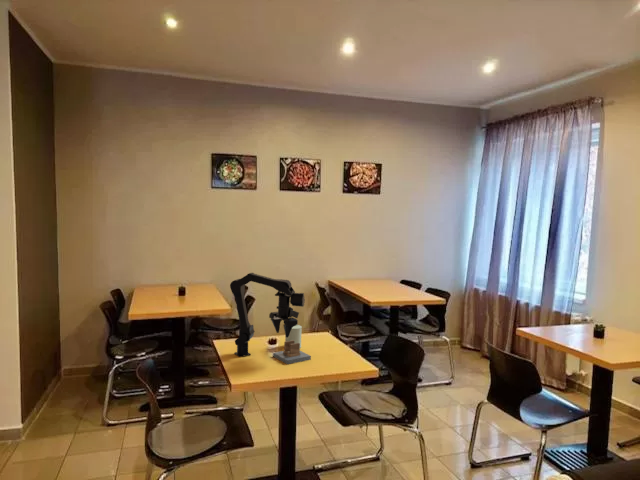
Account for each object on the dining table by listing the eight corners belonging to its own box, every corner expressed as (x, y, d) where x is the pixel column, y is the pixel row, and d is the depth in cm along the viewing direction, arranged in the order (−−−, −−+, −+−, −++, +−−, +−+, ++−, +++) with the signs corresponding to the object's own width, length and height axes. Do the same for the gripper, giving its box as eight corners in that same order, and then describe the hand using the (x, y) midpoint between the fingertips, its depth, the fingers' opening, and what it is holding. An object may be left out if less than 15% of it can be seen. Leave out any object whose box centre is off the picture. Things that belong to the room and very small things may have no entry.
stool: (283, 353, 234) (283, 341, 234) (293, 351, 238) (293, 339, 237) (290, 357, 229) (290, 345, 228) (300, 355, 232) (300, 343, 232)
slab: (273, 356, 235) (273, 352, 235) (295, 352, 243) (295, 348, 243) (287, 364, 224) (287, 360, 224) (310, 359, 232) (310, 355, 232)
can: (304, 346, 254) (305, 325, 253) (294, 350, 246) (295, 328, 246) (291, 343, 259) (291, 322, 258) (281, 347, 251) (281, 325, 251)
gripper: (307, 307, 229) (305, 337, 230) (287, 300, 244) (286, 328, 245) (288, 309, 222) (286, 340, 223) (269, 301, 237) (268, 331, 238)
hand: (282, 334), depth 233 cm, fingers open, 9 cm apart
